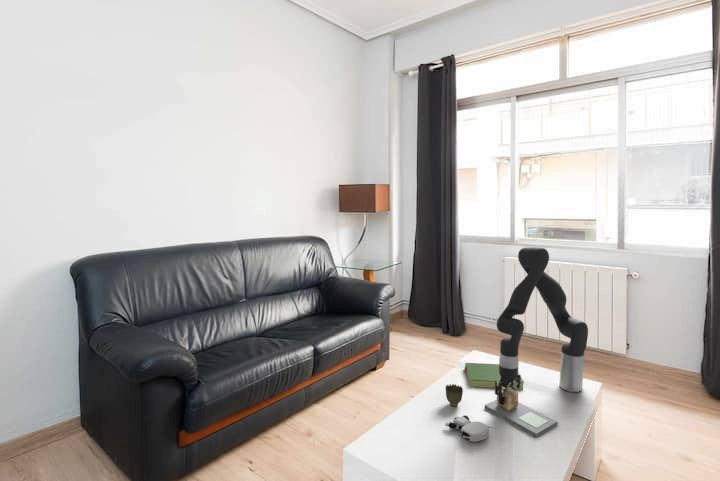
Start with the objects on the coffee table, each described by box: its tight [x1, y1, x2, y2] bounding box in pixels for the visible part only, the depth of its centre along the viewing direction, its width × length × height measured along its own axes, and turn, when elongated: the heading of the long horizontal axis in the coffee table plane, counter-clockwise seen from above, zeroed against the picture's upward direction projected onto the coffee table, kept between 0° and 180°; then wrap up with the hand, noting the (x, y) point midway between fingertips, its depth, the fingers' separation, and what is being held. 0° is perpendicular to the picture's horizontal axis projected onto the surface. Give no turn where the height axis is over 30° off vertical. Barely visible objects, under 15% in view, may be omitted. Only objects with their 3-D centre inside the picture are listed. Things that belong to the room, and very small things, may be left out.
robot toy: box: [444, 414, 494, 443], centre depth 150 cm, size 12×4×15 cm
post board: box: [484, 399, 559, 438], centre depth 160 cm, size 14×24×8 cm, turn 33°
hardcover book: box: [464, 362, 525, 390], centre depth 194 cm, size 25×19×4 cm
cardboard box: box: [496, 387, 519, 411], centre depth 165 cm, size 6×6×6 cm
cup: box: [445, 383, 464, 408], centre depth 169 cm, size 8×7×8 cm
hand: (507, 401), depth 165 cm, fingers open, 7 cm apart
